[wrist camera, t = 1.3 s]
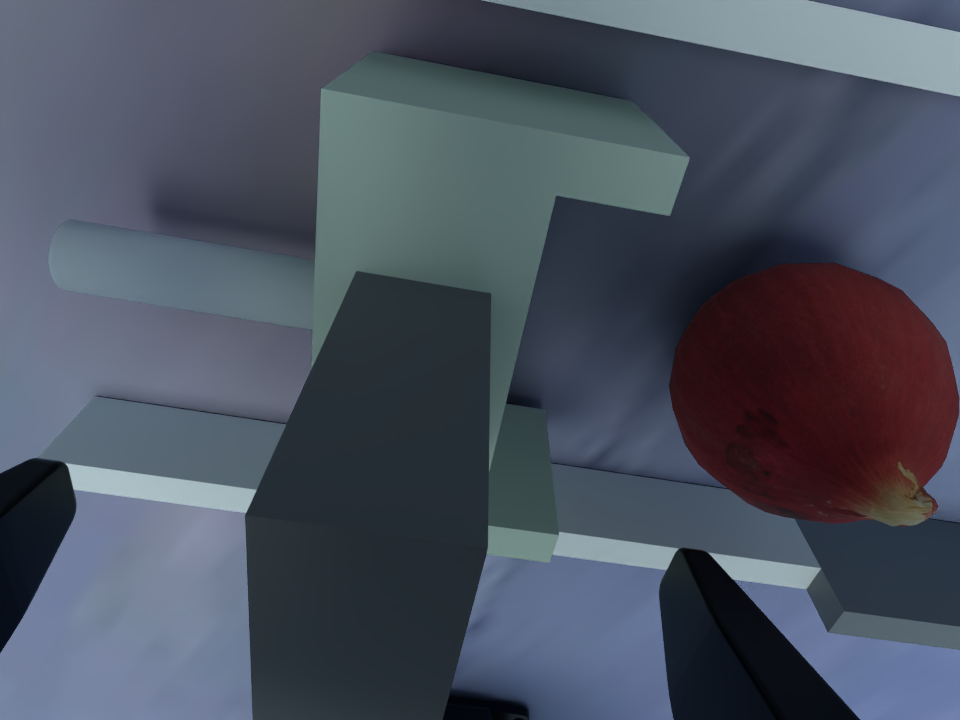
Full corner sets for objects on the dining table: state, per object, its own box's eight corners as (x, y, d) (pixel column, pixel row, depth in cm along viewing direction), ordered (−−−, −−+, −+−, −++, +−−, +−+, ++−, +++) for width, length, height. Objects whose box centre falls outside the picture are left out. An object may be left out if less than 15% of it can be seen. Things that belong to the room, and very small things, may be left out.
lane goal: (1056, 559, 23) (1251, 765, 17) (99, 420, 20) (-62, 607, 15) (1467, 143, 15) (2096, 258, 9) (-12, -166, 13) (-465, -282, 7)
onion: (729, 427, 20) (849, 662, 13) (602, 325, 18) (665, 538, 11) (896, 302, 18) (1145, 512, 11) (768, 170, 16) (973, 325, 9)
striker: (537, 435, 20) (576, 853, 10) (147, 375, 19) (-192, 776, 10) (633, 101, 14) (882, 346, 5) (96, -2, 14) (-766, 71, 4)
